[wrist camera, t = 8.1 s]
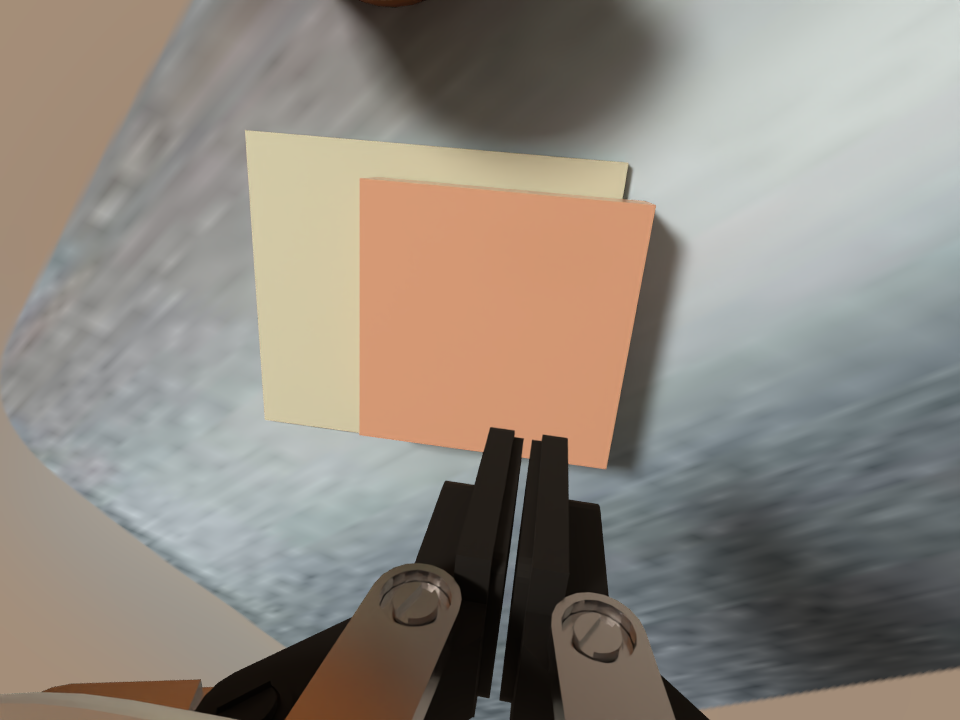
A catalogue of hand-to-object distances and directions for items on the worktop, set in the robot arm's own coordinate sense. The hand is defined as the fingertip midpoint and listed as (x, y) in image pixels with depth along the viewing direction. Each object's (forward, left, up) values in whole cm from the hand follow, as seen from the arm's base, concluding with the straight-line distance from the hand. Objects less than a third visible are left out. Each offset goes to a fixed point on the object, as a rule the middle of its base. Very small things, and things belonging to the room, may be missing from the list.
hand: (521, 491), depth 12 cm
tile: (-4, +1, -14) cm, 14 cm away
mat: (+6, +1, -16) cm, 17 cm away
